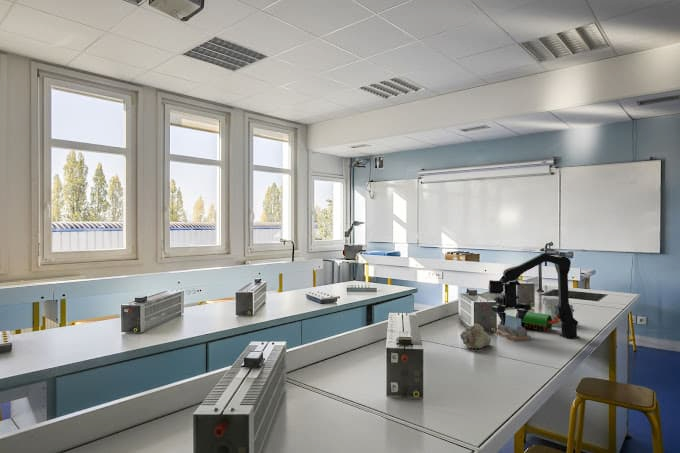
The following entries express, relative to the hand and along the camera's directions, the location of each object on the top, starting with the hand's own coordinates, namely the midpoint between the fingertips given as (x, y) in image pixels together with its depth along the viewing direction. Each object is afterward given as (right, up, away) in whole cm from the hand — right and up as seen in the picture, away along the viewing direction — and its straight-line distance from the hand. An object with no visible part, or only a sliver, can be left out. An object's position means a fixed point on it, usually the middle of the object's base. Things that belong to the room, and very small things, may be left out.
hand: (511, 324), depth 205 cm
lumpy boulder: (-24, -6, -17) cm, 30 cm away
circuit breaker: (+35, -5, +19) cm, 40 cm away
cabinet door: (0, -4, 0) cm, 4 cm away
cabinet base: (-1, -6, +1) cm, 6 cm away
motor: (+11, -1, +18) cm, 21 cm away
